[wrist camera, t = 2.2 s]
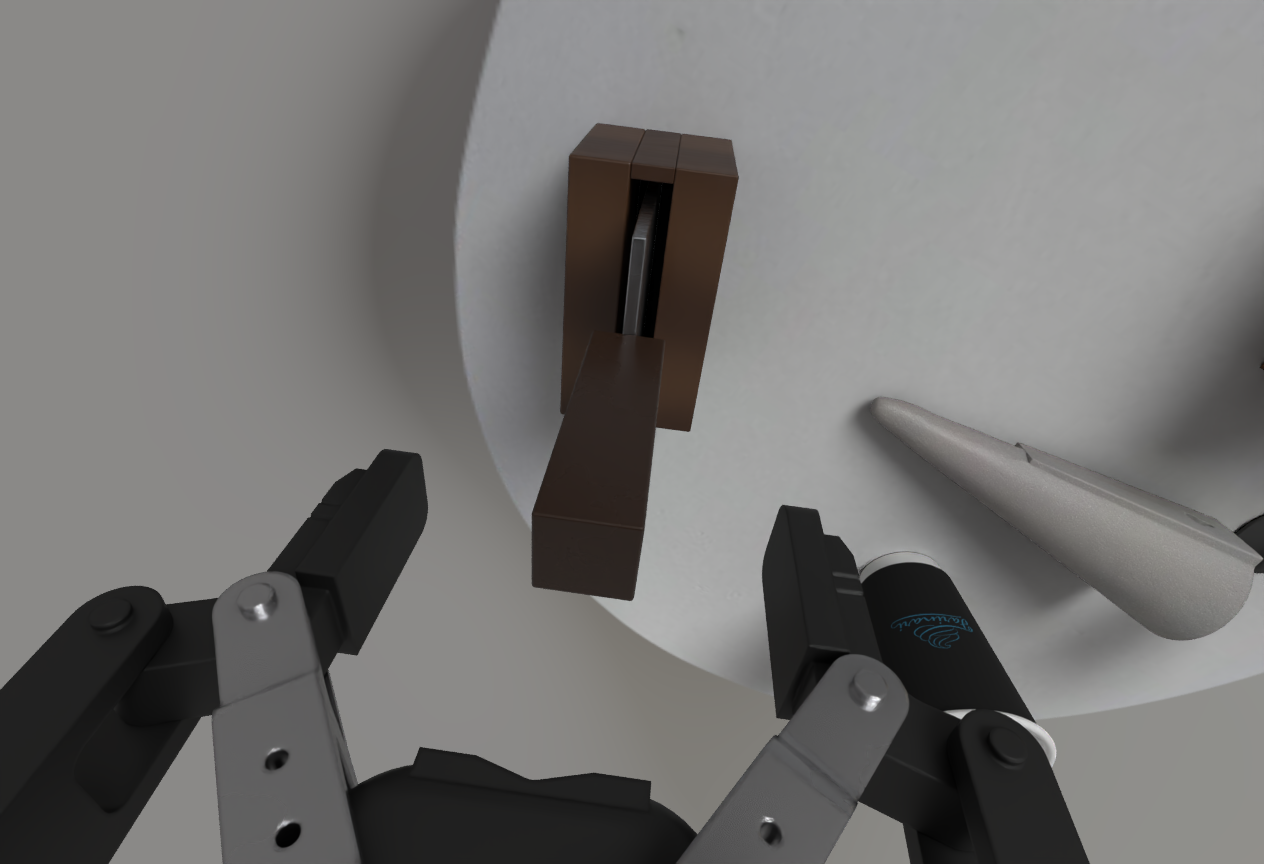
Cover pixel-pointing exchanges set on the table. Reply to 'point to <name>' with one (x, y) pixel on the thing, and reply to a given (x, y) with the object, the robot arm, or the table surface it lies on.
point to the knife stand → (603, 246)
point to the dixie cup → (938, 642)
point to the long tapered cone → (1094, 525)
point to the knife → (605, 448)
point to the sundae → (1254, 539)
